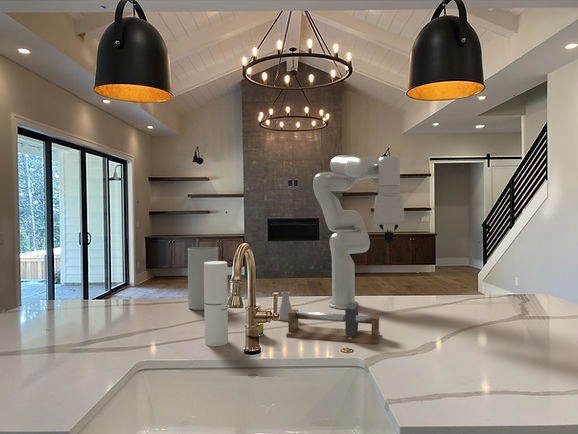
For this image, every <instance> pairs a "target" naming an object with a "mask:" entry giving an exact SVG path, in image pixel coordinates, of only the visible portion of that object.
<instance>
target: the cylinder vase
mask: <svg viewBox="0 0 578 434" xmlns="http://www.w3.org/2000/svg"><path fill="white" fill-rule="evenodd" d="M211 261H219V247H216V246H214V247H213V246H198V247H197V246H196V247H188V248H187V293H188V294H187V297H188V299H187V300H188V303H187V305H188V308H189V309H190V310H193V311H205V307H204V303H205V302H204V263H205V262H211Z"/></svg>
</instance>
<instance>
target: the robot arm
mask: <svg viewBox="0 0 578 434" xmlns="http://www.w3.org/2000/svg"><path fill="white" fill-rule="evenodd" d="M329 168H330V170H331V171H324V172H323V171H322V172H319V173H317V174H316V175H315V176H314V177H313V181H312V182H313V183H312V188H313V194H314V195H315V198H316V200H317V202H318V204H319V206H320V207H321V210H322V214H323V217H324V220H325V223H326V226H327V228H328V230H330V231H331V232H334V233H332V234H331V236H330V237H329V249H330V253H331V254H330V255H331V280H332V281H331V288H332V289H331V294H332V295H331V298H332V299H331V300H330V301H329V302H328V306H329V307H330V308H334V309H339V310H340V309H341V310H345V308H346V307H347V305H348V303H358V304H359V302H357V301H356V299H355V298H356V294H355V293H356V292H355V291H356V290H355V288H356V284H355V282H356V281H355V279H356V278H355V274H356V273H355V268H356V267H355V262H354V260H353V258H352V256H351V254H362V253H366V252H367V251H368V250H369V249H370V247H371V246H370V245H371V240H370V236H369V232H368V230H367V228H366V225H365V222H364V220H363V217H362V215H361V214H360V213H359V212H358V211H356V210H352V209H344V208H343V207H342V205H341V201H340V199H338V198H337V196H336V195H334V194H333V193H332V192H347V191H349V190H350V189H352V187H353V186H354V185H355V183H356V182H357V181H358V179H370V180H371V179H376V180H377V187H376V188H373V192H374V193H377V195H375V199H374V210H373V211H374V213H373V219H374V220H373V221H374V222H373V227H376V228H380V229H381V230H382V231H383V232H384V242H386V244H392V242H394V232H396V230H397V229H398V228H402V227H403V228H404V227H405V221H404V219H405V208H404V207H405V206H404V198H403V195H402V194H401V190H400V189H401V182H400V181H401V160H400V157H398V156H396V155H395V156H394V155H387V156H381V157H379V158H376V157H360V156H358V155H350V154H349V155H348V154H347V155H345V154H341V155H336V156H333V158H332V159H331V160H330V162H329ZM388 224H391V226H390V230H389V229H388Z"/></svg>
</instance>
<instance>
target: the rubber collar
mask: <svg viewBox="0 0 578 434" xmlns="http://www.w3.org/2000/svg"><path fill="white" fill-rule="evenodd" d="M344 310H345V312H344V314H345V322H344V324H345V327H344V329H345V335H350V336H355V335H356V332H357V330H359V323H356V315H359V302H358V303H348V305H347V307H346V308H345V309H344Z"/></svg>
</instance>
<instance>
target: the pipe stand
mask: <svg viewBox="0 0 578 434" xmlns="http://www.w3.org/2000/svg"><path fill="white" fill-rule="evenodd" d="M296 311H299V309H296V308H295V309H293V308H292V310H291V311H290V312H289V313H288V331H287V332H286V335H285V336H286V338H298V339H308V340H309V339H310V340H321V341H334V342H335V341H336V342H343V343H344V342H346V343H359V344H370V345H378V344H379V340H380V339H379V338H380V334H381V333H380V314H376V313H375V314H372V315H371V316H372V318H371V324H370V325H371V330H361V329H358V330H357V332H356V335H355V336H350V335H345V328H337V327H335V328H334V327H323V326H309V325H299V319H296V318H295V313H296Z"/></svg>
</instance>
